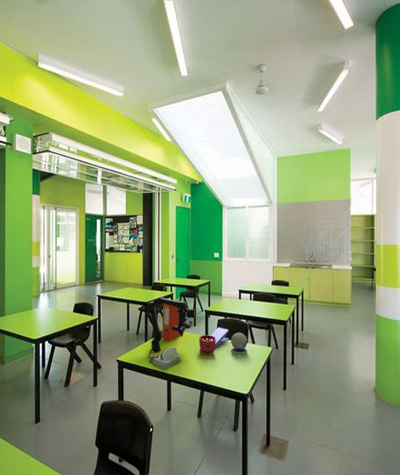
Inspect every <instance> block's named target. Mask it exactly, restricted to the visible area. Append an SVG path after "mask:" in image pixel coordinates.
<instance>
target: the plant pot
mask: <svg viewBox="0 0 400 475" xmlns="http://www.w3.org/2000/svg"><path fill="white" fill-rule="evenodd" d="M210 335H211V334H210ZM210 335H209V334H203V335H200V336H199V339H198V340H199V341H198V344H199V353H200V354H201V355H205V356H206V355H207V356H208V355H213V354H214V353H215V349H214V347H215V343H216V338H215V337H213V336H210ZM207 338H208V340H207ZM209 339H210V340H209ZM211 339H212V340H213V341H211Z"/></svg>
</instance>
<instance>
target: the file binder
mask: <svg viewBox="0 0 400 475" xmlns="http://www.w3.org/2000/svg"><path fill="white" fill-rule="evenodd" d="M173 300H174V299H173ZM174 301H177V300H176V299H175V300H174ZM162 304H163V303H162ZM162 307H163V309H162V328H161V329H162V334H163V336H162V339H161V340H163V341H168V342H171V341H172V340H174V339H176V338H178V337H181V336H180V334H179V332H178V331H174V330H172V326H175V325H176V326H178V325H177V324H178V320H177V318H179V312H176V311H177V310H178V308H177V307H175V306H172V305H167V304H163V306H162Z"/></svg>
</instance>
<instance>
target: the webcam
mask: <svg viewBox="0 0 400 475" xmlns="http://www.w3.org/2000/svg"><path fill="white" fill-rule="evenodd" d="M230 342H231V345H232V348H231V349H230V352H231V353H232V354H234V355H235V356H236V355H237V356H242V355H243V354H244V355H246V354H248V350H247V348H246V346H247V345H248V339H247V336H246V335H245V334H244V333H242V332H236V333H234V334H232V336H231V338H230ZM244 355H243V356H244Z"/></svg>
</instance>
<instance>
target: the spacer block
mask: <svg viewBox="0 0 400 475" xmlns="http://www.w3.org/2000/svg"><path fill="white" fill-rule="evenodd" d="M148 357H149V360H148V361H149V362H151V363H154V359H155V358H159V357H160V354H158V353H154V352H153V353H151V354H150V355H149V356H148Z"/></svg>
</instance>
